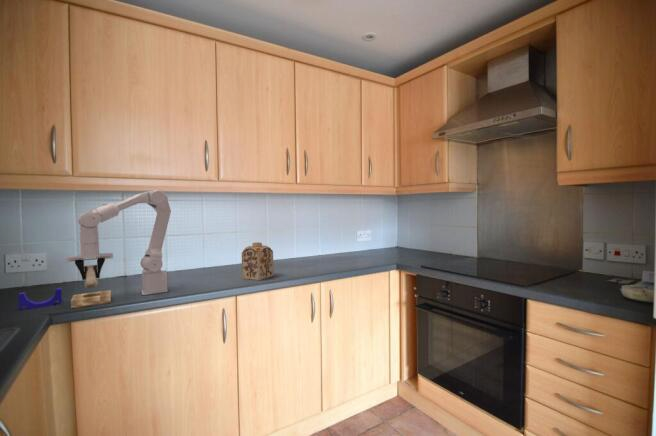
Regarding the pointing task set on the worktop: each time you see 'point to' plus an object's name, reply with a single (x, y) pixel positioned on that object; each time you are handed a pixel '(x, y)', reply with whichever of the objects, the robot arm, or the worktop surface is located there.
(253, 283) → the worktop surface
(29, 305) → the blue curved cradle
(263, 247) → the decorative jar
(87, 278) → the pin
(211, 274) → the worktop surface
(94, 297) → the pocket block
